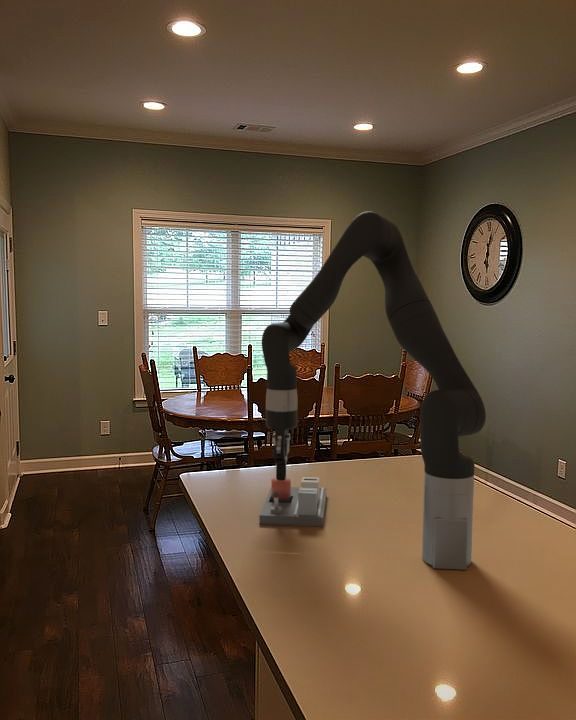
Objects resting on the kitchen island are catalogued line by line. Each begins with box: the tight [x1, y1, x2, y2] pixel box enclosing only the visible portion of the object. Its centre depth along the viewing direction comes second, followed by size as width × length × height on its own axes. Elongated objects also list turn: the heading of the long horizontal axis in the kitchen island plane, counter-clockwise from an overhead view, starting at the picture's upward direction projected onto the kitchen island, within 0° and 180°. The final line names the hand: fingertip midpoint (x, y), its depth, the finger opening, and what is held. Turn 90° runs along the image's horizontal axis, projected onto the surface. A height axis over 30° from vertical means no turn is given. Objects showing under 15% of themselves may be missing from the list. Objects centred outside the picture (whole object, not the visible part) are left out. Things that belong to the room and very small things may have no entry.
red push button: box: [270, 477, 292, 500], centre depth 154 cm, size 5×5×4 cm
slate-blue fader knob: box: [298, 487, 317, 516], centre depth 144 cm, size 4×4×5 cm
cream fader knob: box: [300, 476, 320, 503], centre depth 153 cm, size 4×4×5 cm
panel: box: [258, 486, 327, 528], centre depth 152 cm, size 22×14×7 cm, turn 174°
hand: (281, 479), depth 154 cm, fingers closed
